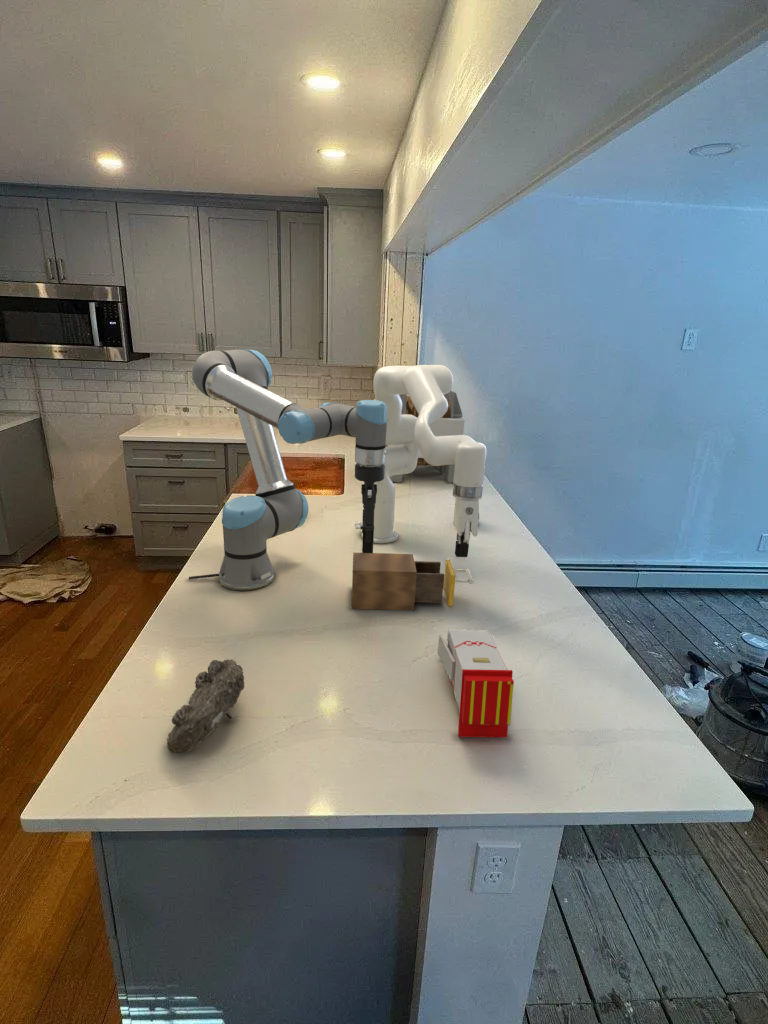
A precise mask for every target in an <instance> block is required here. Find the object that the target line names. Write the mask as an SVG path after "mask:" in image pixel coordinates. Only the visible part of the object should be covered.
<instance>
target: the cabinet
mask: <svg viewBox="0 0 768 1024" xmlns="http://www.w3.org/2000/svg"><path fill="white" fill-rule="evenodd" d="M352 554H353V555H352V579H351V582H352V583H351V610H389V611H392V610H395V611H396V610H397V611H415V603H416V602H415V588H416V574H417V571H416V566H415V562H414V561H415V557H414V554H413V553H392V552H391V553H390V552H389V553H387V552H373V553H362V552H352Z"/></svg>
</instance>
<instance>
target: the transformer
mask: <svg viewBox="0 0 768 1024" xmlns="http://www.w3.org/2000/svg"><path fill="white" fill-rule="evenodd" d="M399 396H400V398H401V401H402V411H401V415H405V414H409V415H414V416H415V417H417V418H418V416H419V414H418V412H417V410H416V408H415V406H414V404H413V402H412V400H411V398H410V396H409V395H405V394H402V395H399ZM444 397H445V399H446V400H447V403H448V409H447V411H446V413H445V414H444V415H443V416H442V417H441V418H440V419H439V420H437V421H435V422H434V423H432V424H430V425H429V428H430V430H431V432H432V433H433V435H434V436H435V437H437V436H451V435H453V436H454V435H464V431H465V430H464V429H465V419H464V418H463V411H462V408H461V405H460V402H459V398H458V395H457V392H455V391H453V390H451V391H450V392H449V393H447V394H445V395H444ZM394 446H401V444H395V445H386V447H394ZM417 466H418V467H434V466H433V465H430V464H428V463H427V462H426V461H425V460H424V458H423V457H422V455H421V453H420V451H419V453H418V460H417V465H416V467H417ZM436 468H437V470H438V469H439V473H440V474H441V475H443V478H444V479H445V481H446V482H447V483H449V484H453V481H454V470H455V464H449V465H440V466H436ZM403 475H404V474H400V475H392V476H390V477H389V478H390V480H391V481H392V483H402V482H403Z"/></svg>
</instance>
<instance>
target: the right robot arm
mask: <svg viewBox="0 0 768 1024" xmlns="http://www.w3.org/2000/svg"><path fill="white" fill-rule="evenodd" d="M372 382H373V383H372V384H373V394H374V399H375V400H377V401H382V402H384V403H385V404H386V405H387V419H388V422H387V430H386V445H395V444H401V446H394V447H385V451H388V454H387V455H385V463H384V466H385V477H384V479H383V480H382V481H379V482H375V483H374V485H377V494H376V504H375V509H374V538H373V544H389V543H393V542H395V541H397V540H398V537H399V534H398V532H397V531H396V530H395V528H394V527H395V510H396V509H395V508H396V507H395V506H396V486H395V484H394V482H392V481H391V480H390V478H389V477H390V476H392V475H400V474H403V475H407V474H408V475H409V474H411V473H413V472H414V471H415V470H416V468H417V466H416V465H417V460H418V453H419V451H420V453H421V455H422V457H423V458H424V460H425V461H426V462H427V463H428V464H430V466H432V465H433V466H432V467H437V466H440V465H449V464H455V470H454V481H453V483H452V493H451V494H452V496H453V497H454V498H455V501H454V502H455V503H454V510H453V511H454V512H453V526H454V528H455V530H456V540H455V548H454V555H455V558H468V556H469V547H470V539H471V534H472V536H473V537H475V538H476V537H477V536H478V532H479V531H478V529H479V521H478V516H479V517H480V512H479V511H480V505H479V504H480V501H479V500H480V499H482V497H483V491H484V490H483V489H484V480H485V471H486V460H487V447H486V445H485V444H484V443H482V442H479V441H475V440H474V439H473V438H472V437H471V436H469V435H466V434H463V435H454V436H453V435H451V436H437V437H435V436H434V435H433V433H432V432H431V430H430V428H429V425H430V424H432V423H434V422H435V421H437V420H439V419H440V418H441V417H442V416H443V415H444V414H445V413H446V411H447V409H448V403H447V400H446V399H445V397H444V395H445V394H447V393H449V392H450V391H452V389H453V387H454V376H453V373H452V371H451V369H449V367H447V366H445V365H443V364H417V365H388V366H382V367H379V368H377V370H376V371H375V373H374V377H373V381H372ZM402 394H405V395H407V396H410V398H411V400H412V402H413V404H414V406H415V408H416V410H417V412H418V414H419V416H418V418H417V417H415V416H414V415H409V414H405V415H401V411H402V401H401V398H400V396H399V395H402ZM361 526H362V521H355V522H354V527H355V529H356V530H360V529H361ZM360 535H361V538H362V539H363V533H362V532H361V534H360Z"/></svg>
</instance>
